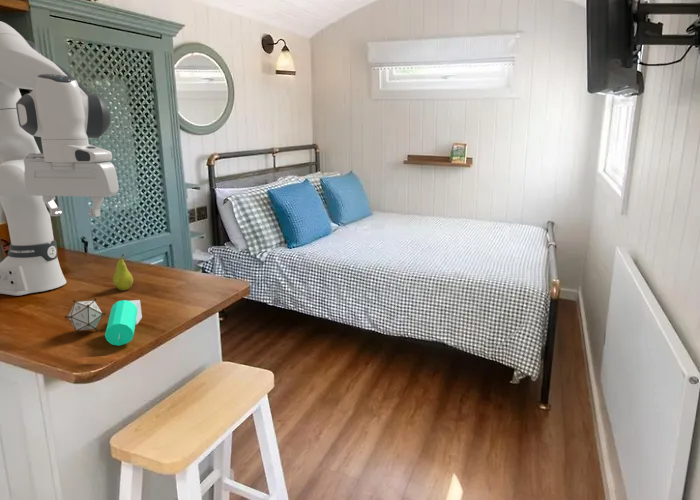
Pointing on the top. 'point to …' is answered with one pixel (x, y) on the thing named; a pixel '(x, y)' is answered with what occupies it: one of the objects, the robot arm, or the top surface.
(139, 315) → the grey block
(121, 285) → the fruit
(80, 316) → the game die
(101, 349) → the top surface
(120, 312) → the candle
